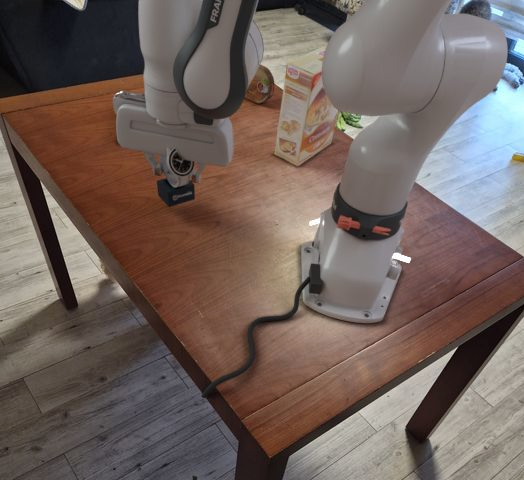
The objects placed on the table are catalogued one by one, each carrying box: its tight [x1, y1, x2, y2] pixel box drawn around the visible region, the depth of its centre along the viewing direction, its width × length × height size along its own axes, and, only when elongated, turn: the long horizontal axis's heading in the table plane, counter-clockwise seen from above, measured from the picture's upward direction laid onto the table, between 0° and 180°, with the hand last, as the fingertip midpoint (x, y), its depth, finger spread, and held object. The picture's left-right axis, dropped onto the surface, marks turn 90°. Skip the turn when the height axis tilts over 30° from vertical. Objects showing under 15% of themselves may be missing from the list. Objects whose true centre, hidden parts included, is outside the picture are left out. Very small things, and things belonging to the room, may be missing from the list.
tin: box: [244, 64, 275, 104], centre depth 121 cm, size 15×3×8 cm, turn 50°
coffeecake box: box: [273, 44, 340, 167], centre depth 103 cm, size 15×7×20 cm, turn 143°
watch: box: [156, 147, 196, 208], centre depth 85 cm, size 6×8×11 cm
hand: (177, 177), depth 86 cm, fingers closed on watch, 6 cm apart
